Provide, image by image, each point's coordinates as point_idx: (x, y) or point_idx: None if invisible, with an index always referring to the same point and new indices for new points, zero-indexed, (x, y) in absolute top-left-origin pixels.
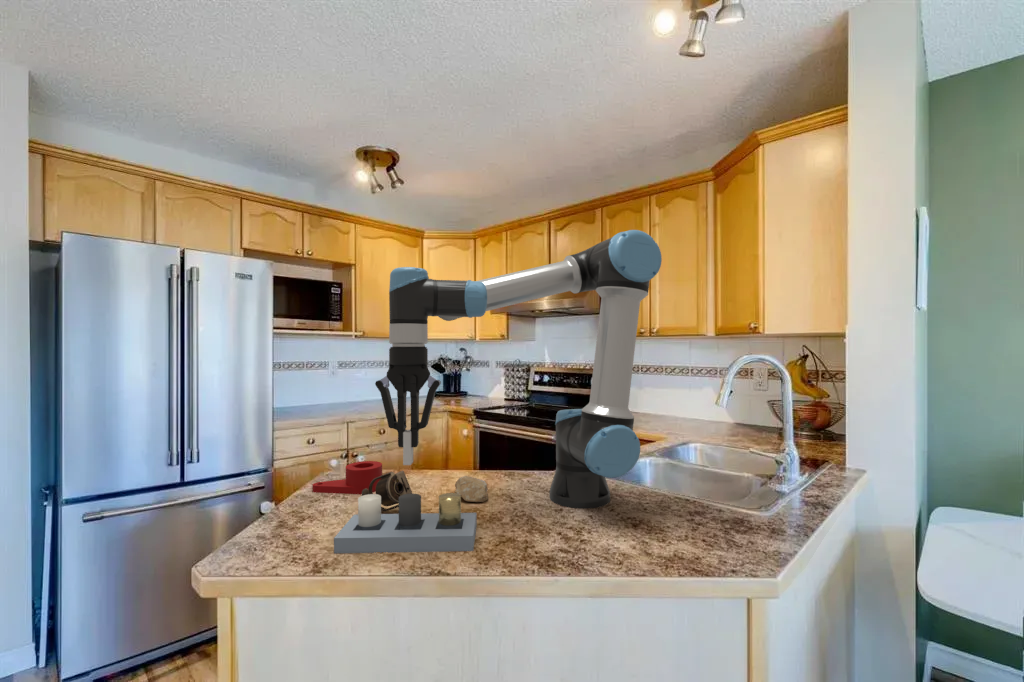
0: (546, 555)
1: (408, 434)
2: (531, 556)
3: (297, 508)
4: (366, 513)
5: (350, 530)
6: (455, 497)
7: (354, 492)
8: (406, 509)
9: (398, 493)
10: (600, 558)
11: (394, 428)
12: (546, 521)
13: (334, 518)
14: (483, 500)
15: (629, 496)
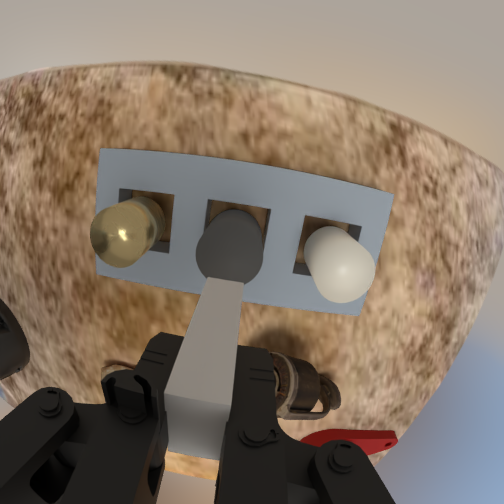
0: (26, 132)
1: (188, 384)
2: (41, 128)
3: (422, 385)
4: (344, 235)
5: (366, 227)
6: (101, 226)
7: (341, 432)
8: (239, 219)
9: None
10: None
11: (309, 447)
12: (18, 259)
13: (379, 349)
14: (109, 366)
15: None
